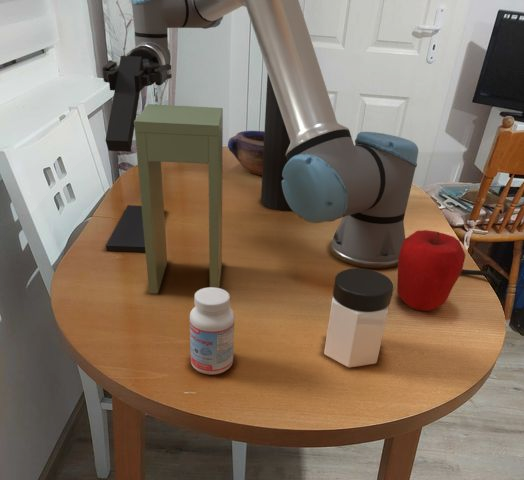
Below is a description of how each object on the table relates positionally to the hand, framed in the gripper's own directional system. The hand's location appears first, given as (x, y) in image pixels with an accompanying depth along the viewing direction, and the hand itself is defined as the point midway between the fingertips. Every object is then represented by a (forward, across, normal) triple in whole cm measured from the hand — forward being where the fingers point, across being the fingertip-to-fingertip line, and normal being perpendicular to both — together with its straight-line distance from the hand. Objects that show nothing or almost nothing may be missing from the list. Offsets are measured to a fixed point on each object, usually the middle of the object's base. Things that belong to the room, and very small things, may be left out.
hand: (124, 83), depth 96 cm
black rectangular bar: (0, 0, -4) cm, 4 cm away
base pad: (+1, 0, -28) cm, 28 cm away
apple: (+29, -54, -28) cm, 68 cm away
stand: (+22, -13, -28) cm, 38 cm away
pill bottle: (+48, -19, -28) cm, 59 cm away
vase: (-19, -32, -28) cm, 47 cm away
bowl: (-44, -28, -28) cm, 60 cm away
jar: (+43, -40, -28) cm, 65 cm away
